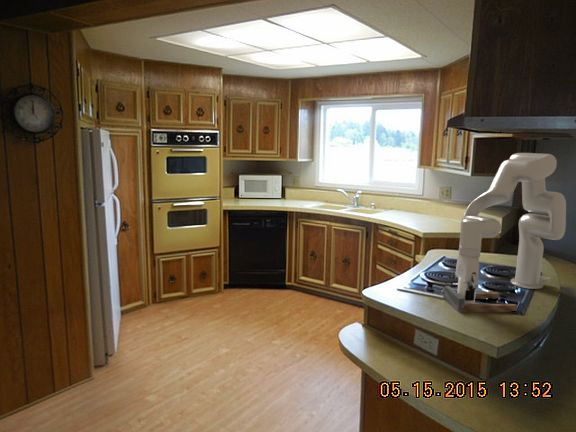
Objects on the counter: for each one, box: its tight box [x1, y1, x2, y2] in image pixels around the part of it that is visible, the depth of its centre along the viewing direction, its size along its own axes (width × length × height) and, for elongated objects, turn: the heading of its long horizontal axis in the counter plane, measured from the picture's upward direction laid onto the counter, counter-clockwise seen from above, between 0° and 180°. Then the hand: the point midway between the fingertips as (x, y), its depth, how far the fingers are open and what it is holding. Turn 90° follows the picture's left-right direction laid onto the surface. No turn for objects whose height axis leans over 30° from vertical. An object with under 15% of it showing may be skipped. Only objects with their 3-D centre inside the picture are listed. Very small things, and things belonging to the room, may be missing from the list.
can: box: [456, 277, 477, 304], centre depth 165 cm, size 6×6×12 cm
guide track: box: [442, 285, 518, 313], centre depth 166 cm, size 22×14×5 cm, turn 92°
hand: (465, 296), depth 166 cm, fingers open, 5 cm apart
